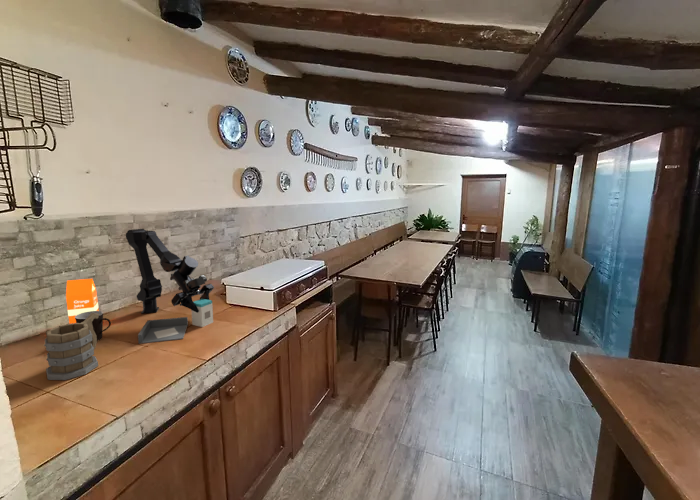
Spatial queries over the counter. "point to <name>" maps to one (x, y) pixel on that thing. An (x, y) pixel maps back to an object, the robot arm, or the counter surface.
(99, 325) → the coffee mug
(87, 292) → the orange juice
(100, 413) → the counter surface
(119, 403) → the counter surface
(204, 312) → the white teal-lidded canister
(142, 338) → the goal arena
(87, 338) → the tankard
